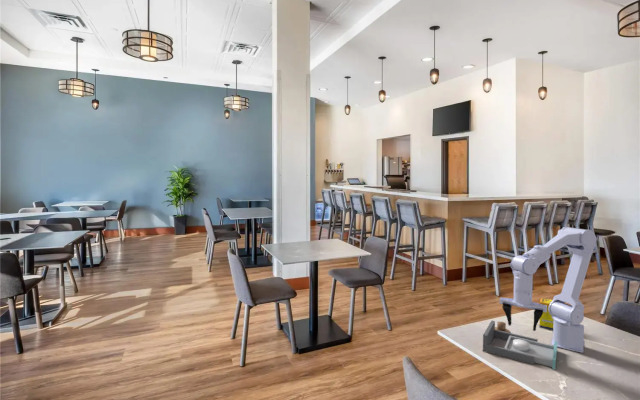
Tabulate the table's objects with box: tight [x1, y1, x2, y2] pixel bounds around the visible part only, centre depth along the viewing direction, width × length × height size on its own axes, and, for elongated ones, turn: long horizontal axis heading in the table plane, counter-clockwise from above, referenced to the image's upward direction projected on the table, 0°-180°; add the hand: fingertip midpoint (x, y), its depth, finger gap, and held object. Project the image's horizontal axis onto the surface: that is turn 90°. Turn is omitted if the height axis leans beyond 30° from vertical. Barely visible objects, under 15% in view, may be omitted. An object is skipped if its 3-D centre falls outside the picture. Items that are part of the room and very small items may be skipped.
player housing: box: [482, 320, 539, 365], centre depth 125 cm, size 16×16×6 cm
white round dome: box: [513, 339, 530, 352], centre depth 123 cm, size 5×5×2 cm
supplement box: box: [538, 298, 554, 331], centre depth 144 cm, size 6×6×11 cm
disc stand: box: [495, 321, 511, 333], centre depth 139 cm, size 6×6×4 cm
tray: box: [504, 336, 558, 371], centre depth 121 cm, size 15×16×3 cm
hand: (521, 327), depth 123 cm, fingers open, 7 cm apart
